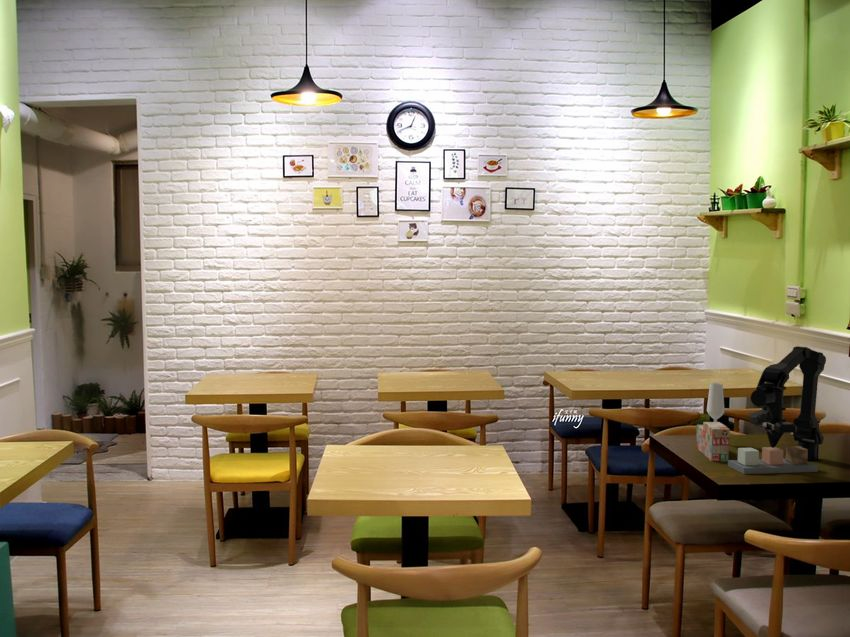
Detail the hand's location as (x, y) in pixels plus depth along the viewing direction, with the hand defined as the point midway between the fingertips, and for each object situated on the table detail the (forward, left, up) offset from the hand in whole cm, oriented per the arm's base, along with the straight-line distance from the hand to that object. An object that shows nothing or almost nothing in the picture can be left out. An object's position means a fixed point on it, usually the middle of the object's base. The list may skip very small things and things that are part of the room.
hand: (772, 447), depth 274 cm
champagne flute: (+1, -40, -8) cm, 41 cm away
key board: (0, 0, -8) cm, 8 cm away
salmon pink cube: (0, 0, -5) cm, 5 cm away
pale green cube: (+9, 0, -5) cm, 11 cm away
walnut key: (-9, 0, -5) cm, 11 cm away
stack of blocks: (+11, -22, -8) cm, 26 cm away
